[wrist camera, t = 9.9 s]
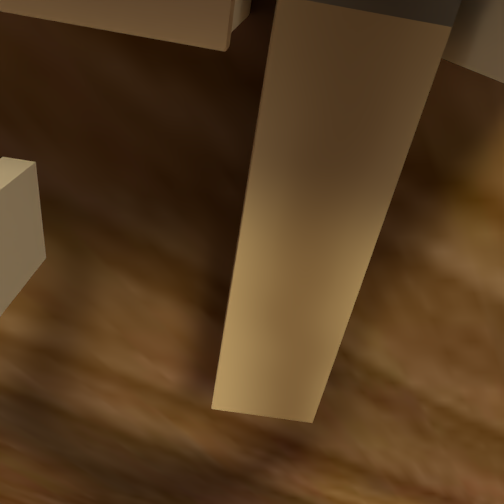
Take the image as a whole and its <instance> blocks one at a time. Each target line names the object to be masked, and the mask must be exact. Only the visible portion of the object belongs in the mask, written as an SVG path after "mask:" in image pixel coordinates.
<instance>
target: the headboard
mask: <svg viewBox="0 0 504 504" xmlns="http://www.w3.org/2000/svg"><path fill="white" fill-rule="evenodd" d="M251 1H252V0H0V11H1V12H7V13H12V14H18V15H23V16H29V17H35V18H40V19H46V20H51V21H57V22H62V23H68V24H74V25H79V26H85V27H90V28H96V29H101V30H107V31H113V32H118V33H124V34H129V35H135V36H140V37H146V38H152V39H157V40H163V41H168V42H174V43H179V44H185V45H191V46H196V47H202V48H207V49H213V50H219V51H224V52H225V51H226V50H227V49H228V48H229V46H230V39H231V32H232V31H233V30H234V29H235V28H236V27H237V26H238V25H239V24H240V23H242V22H243V21H244V20H245V19H246V18H247V17H248V16H249V15H250V8H251ZM441 58H442V59H444V60H447V61H449V62H452V63H454V64H457V65H459V66H462V67H464V68H467V69H469V70H472V71H474V72H477V73H479V74H482V75H484V76H487V77H489V78H492V79H494V80H497V81H499V82H502V83H504V0H462V1H461V4H460V6H459V9H458V12H457V15H456V18H455V21H454V23H453V26H452V29H451V32H450V35H449V38H448V40H447V43H446V46H445V49H444V52H443V55H442V57H441Z"/></svg>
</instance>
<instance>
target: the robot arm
mask: <svg viewBox="0 0 504 504" xmlns="http://www.w3.org/2000/svg"><path fill="white" fill-rule="evenodd" d="M45 259H46V253H45V243H44V234H43V225H42V215H41V206H40V196H39V187H38V178H37V168H36V162H33V161H27V160H21V159H14V158H8V157H2V158H0V316H1V315H2V313H3V312H4V311H5V309H6V308H7V307H8V306H9V304H10V303H11V302H12V301H13V299H14V298H15V297H16V296H17V294H18V293H19V292H20V290H21V289H22V288H23V287H24V285H25V284H26V283H27V282H28V280H29V279H30V278H31V276H32V275H33V274H34V273H35V271H36V270H37V269H38V268H39V266H40V265H41V264H42V263H43V261H44V260H45Z"/></svg>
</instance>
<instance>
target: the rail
mask: <svg viewBox="0 0 504 504" xmlns="http://www.w3.org/2000/svg"><path fill="white" fill-rule="evenodd" d="M461 1H462V0H276V5H275V11H274V17H273V23H272V30H271V36H270V42H269V48H268V54H267V61H266V67H265V73H264V79H263V85H262V91H261V98H260V104H259V110H258V116H257V122H256V128H255V135H254V141H253V147H252V153H251V159H250V165H249V172H248V178H247V184H246V190H245V196H244V202H243V209H242V215H241V221H240V227H239V233H238V239H237V246H236V252H235V258H234V264H233V270H232V276H231V283H230V289H229V295H228V301H227V307H226V314H225V320H224V327H223V334H222V340H221V347H220V354H219V360H218V367H217V374H216V380H215V387H214V394H213V400H212V407H211V409H216V410H224V411H231V412H238V413H245V414H252V415H259V416H266V417H273V418H280V419H287V420H294V421H301V422H308V423H313V420H314V417H315V414H316V411H317V408H318V406H319V403H320V400H321V397H322V394H323V392H324V389H325V386H326V383H327V380H328V377H329V375H330V372H331V369H332V366H333V363H334V360H335V358H336V355H337V352H338V349H339V346H340V343H341V341H342V338H343V335H344V332H345V329H346V326H347V324H348V321H349V318H350V315H351V312H352V309H353V307H354V304H355V301H356V298H357V295H358V292H359V290H360V287H361V284H362V281H363V278H364V275H365V273H366V270H367V267H368V264H369V261H370V258H371V256H372V253H373V250H374V247H375V244H376V241H377V239H378V236H379V233H380V230H381V227H382V224H383V222H384V219H385V216H386V213H387V210H388V207H389V205H390V202H391V199H392V196H393V193H394V190H395V188H396V185H397V182H398V179H399V176H400V173H401V171H402V168H403V165H404V162H405V159H406V156H407V154H408V151H409V148H410V145H411V142H412V139H413V137H414V134H415V131H416V128H417V125H418V122H419V120H420V117H421V114H422V111H423V108H424V106H425V103H426V100H427V97H428V94H429V91H430V89H431V86H432V83H433V80H434V77H435V74H436V72H437V69H438V66H439V63H440V60H441V57H442V55H443V52H444V49H445V46H446V43H447V40H448V38H449V35H450V32H451V29H452V26H453V23H454V21H455V18H456V15H457V12H458V9H459V6H460V4H461Z"/></svg>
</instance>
